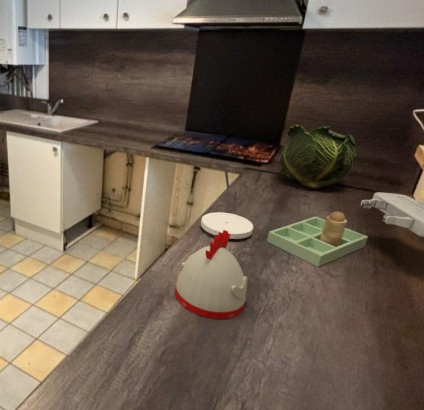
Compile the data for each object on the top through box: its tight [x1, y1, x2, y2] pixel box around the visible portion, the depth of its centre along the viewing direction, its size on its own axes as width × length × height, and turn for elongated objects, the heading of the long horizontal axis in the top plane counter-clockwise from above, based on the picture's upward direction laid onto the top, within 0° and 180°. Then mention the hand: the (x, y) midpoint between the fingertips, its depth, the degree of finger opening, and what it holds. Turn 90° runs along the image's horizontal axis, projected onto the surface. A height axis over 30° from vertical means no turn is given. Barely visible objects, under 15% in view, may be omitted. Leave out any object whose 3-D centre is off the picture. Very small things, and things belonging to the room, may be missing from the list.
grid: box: [266, 216, 369, 268], centre depth 95 cm, size 14×21×3 cm
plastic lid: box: [200, 211, 254, 240], centre depth 103 cm, size 14×14×2 cm
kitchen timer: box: [174, 230, 248, 320], centre depth 73 cm, size 14×14×15 cm
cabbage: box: [278, 124, 358, 191], centre depth 135 cm, size 25×24×23 cm
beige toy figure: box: [320, 210, 348, 247], centre depth 91 cm, size 4×4×10 cm
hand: (373, 211), depth 87 cm, fingers open, 8 cm apart
